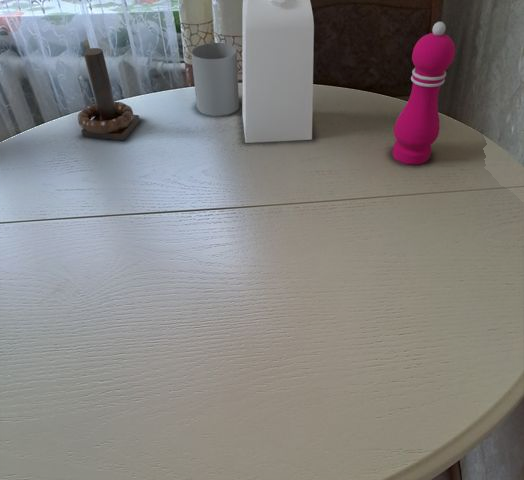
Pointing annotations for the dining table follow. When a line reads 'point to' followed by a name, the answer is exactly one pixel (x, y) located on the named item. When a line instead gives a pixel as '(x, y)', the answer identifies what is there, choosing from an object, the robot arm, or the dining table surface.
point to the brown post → (104, 96)
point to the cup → (216, 78)
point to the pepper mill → (423, 98)
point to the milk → (277, 70)
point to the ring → (107, 125)
